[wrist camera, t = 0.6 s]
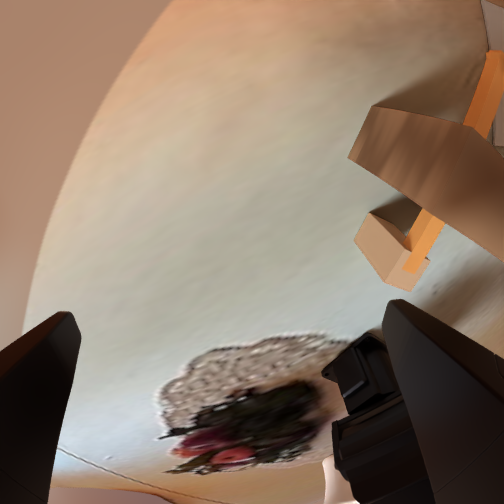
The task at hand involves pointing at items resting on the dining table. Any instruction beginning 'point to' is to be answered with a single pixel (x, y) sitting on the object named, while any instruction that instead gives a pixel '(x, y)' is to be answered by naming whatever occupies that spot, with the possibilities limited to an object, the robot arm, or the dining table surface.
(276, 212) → the dining table surface
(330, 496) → the cup
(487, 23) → the mat
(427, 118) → the brown rectangular frame
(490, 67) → the rail
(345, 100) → the dining table surface
